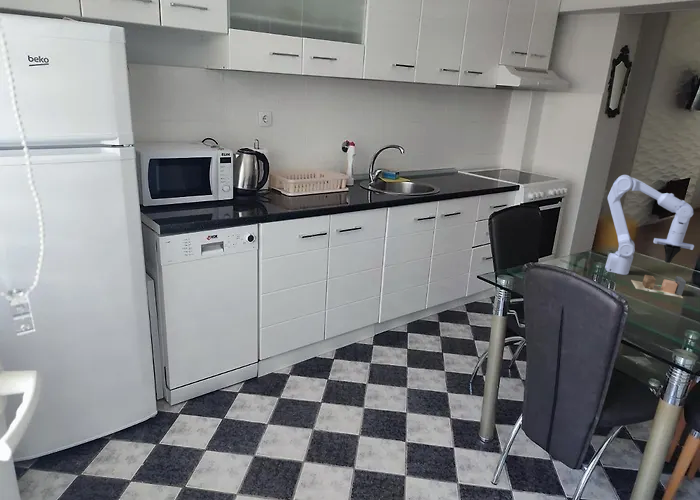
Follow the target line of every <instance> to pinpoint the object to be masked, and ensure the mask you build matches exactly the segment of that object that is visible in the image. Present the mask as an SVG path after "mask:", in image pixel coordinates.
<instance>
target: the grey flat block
mask: <svg viewBox="0 0 700 500" xmlns="http://www.w3.org/2000/svg"><path fill="white" fill-rule="evenodd" d="M674 281H675V282H676V283H677V284H678V285H677V288H676V291H675V294H676V295H680V296H682V295H683V293H684V290H685V287H686V283H687V281H686V280H685V279H684V278H683V276H679V275H678V276H677V275H676V276H675V278H674ZM682 297H683V296H682Z"/></svg>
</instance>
